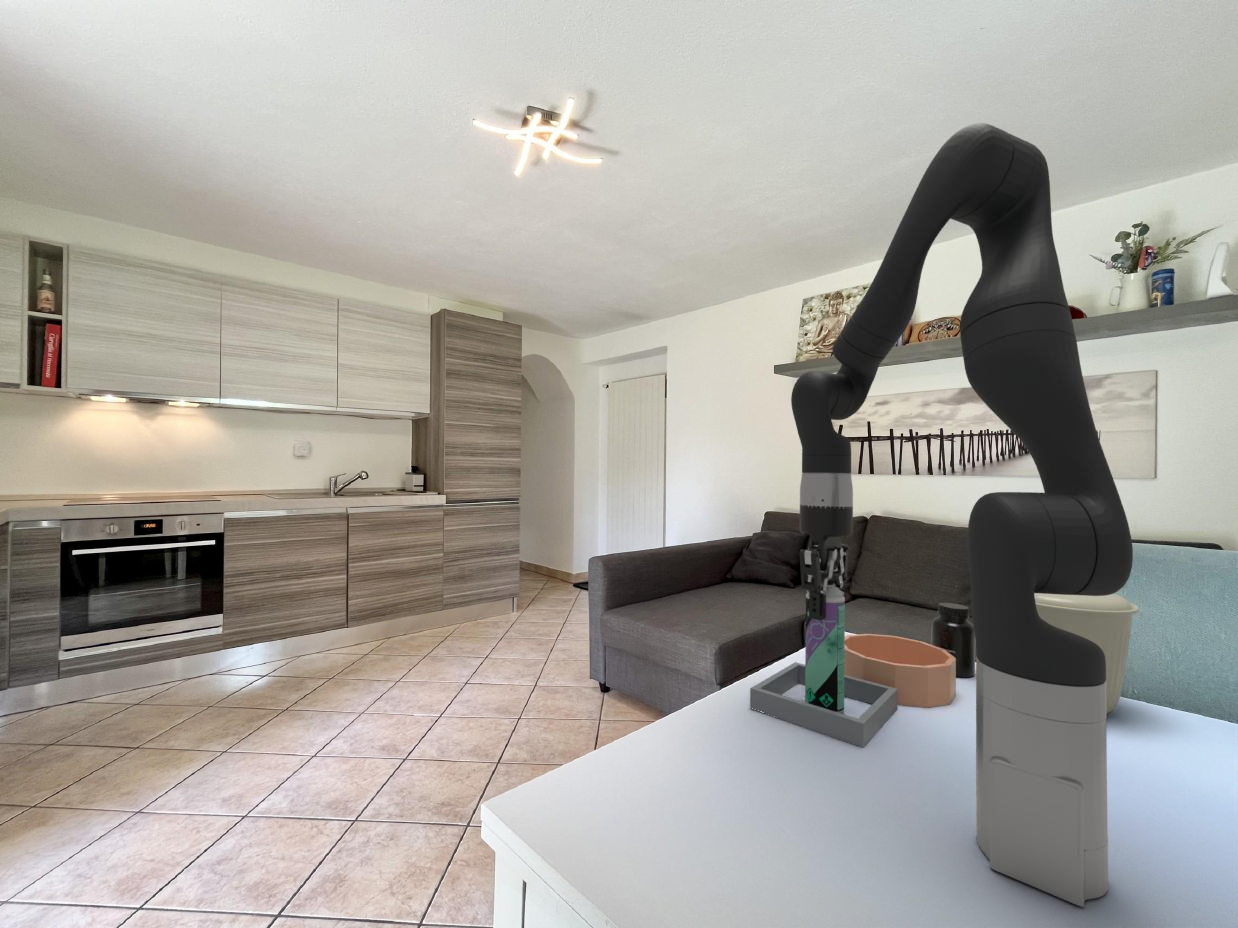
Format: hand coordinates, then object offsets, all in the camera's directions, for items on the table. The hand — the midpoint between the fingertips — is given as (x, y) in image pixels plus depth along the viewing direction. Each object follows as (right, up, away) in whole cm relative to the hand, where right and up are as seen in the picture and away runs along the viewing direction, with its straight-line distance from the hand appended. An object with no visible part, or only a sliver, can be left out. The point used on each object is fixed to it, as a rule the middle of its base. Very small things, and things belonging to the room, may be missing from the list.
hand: (825, 614), depth 78 cm
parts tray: (0, -14, -1) cm, 14 cm away
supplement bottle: (+30, -15, +16) cm, 38 cm away
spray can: (0, -14, -1) cm, 14 cm away
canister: (+39, -15, +4) cm, 42 cm away
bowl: (+15, -15, +9) cm, 23 cm away
